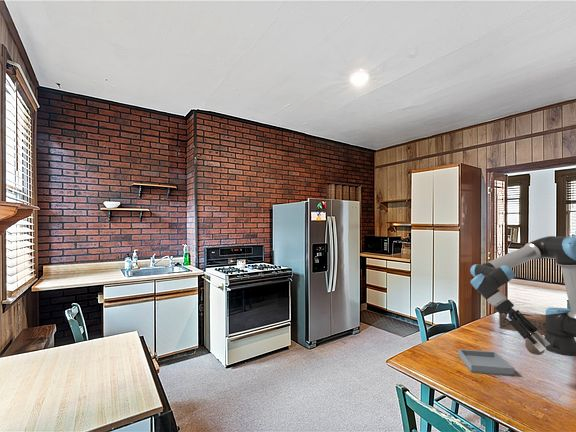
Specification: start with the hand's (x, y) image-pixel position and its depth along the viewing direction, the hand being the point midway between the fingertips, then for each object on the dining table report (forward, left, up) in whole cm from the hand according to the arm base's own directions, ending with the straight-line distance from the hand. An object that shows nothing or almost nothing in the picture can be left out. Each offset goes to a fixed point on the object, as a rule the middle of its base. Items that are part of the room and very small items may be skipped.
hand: (545, 347), depth 130 cm
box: (+19, -15, -16) cm, 29 cm away
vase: (+3, -2, -4) cm, 5 cm away
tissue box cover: (-28, -74, -17) cm, 81 cm away
